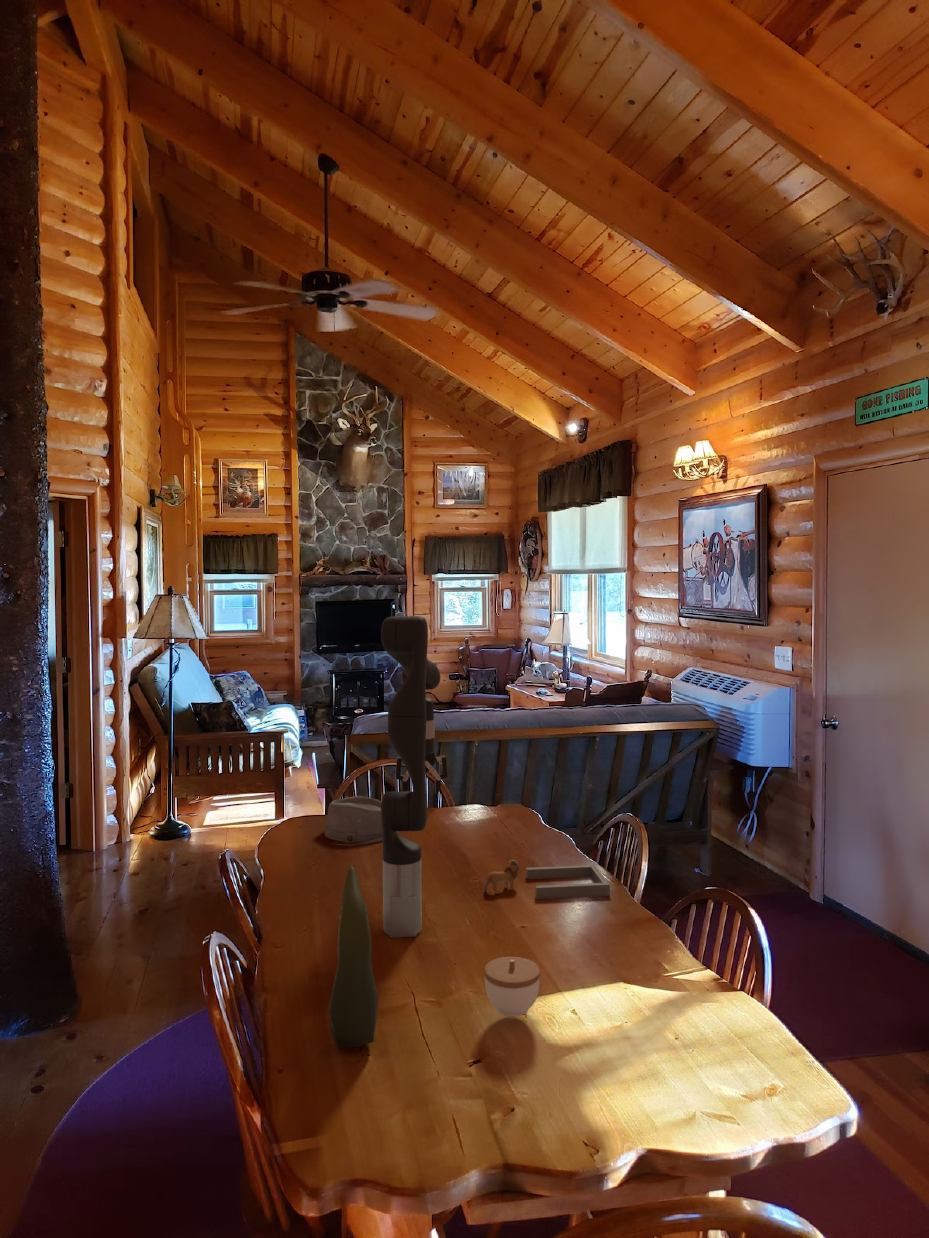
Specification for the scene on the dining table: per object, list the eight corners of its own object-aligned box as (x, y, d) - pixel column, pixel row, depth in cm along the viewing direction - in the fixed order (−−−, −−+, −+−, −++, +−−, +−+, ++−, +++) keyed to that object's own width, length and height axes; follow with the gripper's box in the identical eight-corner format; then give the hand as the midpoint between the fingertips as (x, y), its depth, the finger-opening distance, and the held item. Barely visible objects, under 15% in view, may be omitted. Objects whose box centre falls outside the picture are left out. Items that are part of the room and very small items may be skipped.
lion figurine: (512, 882, 221) (512, 856, 220) (523, 887, 217) (523, 860, 217) (479, 893, 213) (479, 866, 213) (489, 898, 210) (489, 870, 210)
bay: (609, 895, 211) (609, 884, 211) (536, 899, 209) (536, 887, 209) (594, 875, 226) (594, 864, 226) (526, 878, 224) (526, 867, 224)
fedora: (337, 823, 278) (337, 787, 277) (409, 831, 268) (409, 794, 268) (299, 844, 255) (298, 805, 255) (376, 854, 245) (375, 814, 245)
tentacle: (374, 1017, 152) (372, 860, 151) (383, 1053, 140) (381, 883, 139) (325, 1023, 150) (323, 865, 149) (330, 1061, 138) (328, 889, 137)
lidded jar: (474, 1014, 153) (474, 966, 153) (498, 989, 162) (498, 943, 162) (526, 1028, 148) (526, 978, 148) (548, 1002, 158) (548, 954, 157)
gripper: (396, 738, 220) (396, 797, 220) (448, 737, 222) (448, 796, 222) (395, 734, 227) (395, 791, 228) (445, 733, 229) (445, 790, 229)
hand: (421, 793), depth 225 cm, fingers open, 8 cm apart
